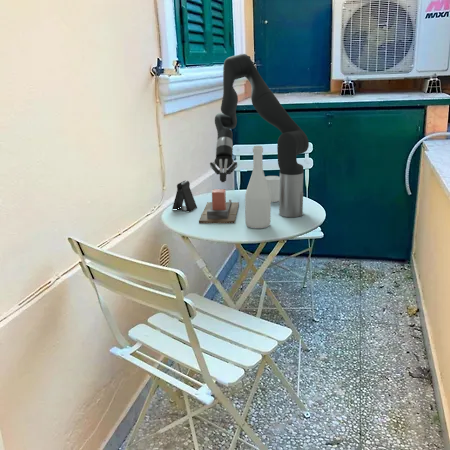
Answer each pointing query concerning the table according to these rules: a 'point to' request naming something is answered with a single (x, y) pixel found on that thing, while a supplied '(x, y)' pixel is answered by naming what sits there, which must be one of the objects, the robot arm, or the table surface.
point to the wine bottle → (257, 195)
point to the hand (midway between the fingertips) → (222, 181)
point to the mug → (273, 187)
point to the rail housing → (220, 213)
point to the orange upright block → (219, 199)
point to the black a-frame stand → (184, 197)
